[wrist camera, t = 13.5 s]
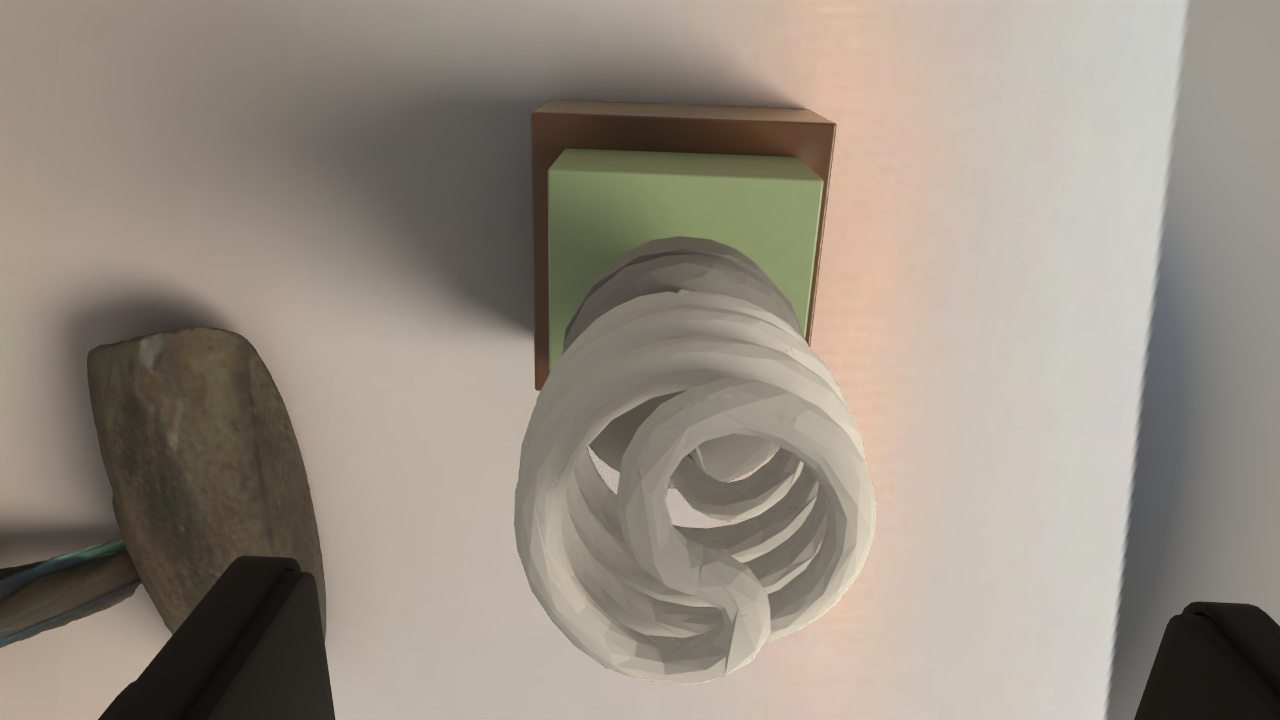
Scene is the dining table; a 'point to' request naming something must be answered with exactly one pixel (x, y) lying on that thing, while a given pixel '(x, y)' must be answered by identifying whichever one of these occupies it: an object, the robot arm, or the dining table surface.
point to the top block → (677, 217)
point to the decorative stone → (199, 462)
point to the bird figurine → (64, 589)
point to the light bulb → (689, 469)
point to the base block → (664, 133)
